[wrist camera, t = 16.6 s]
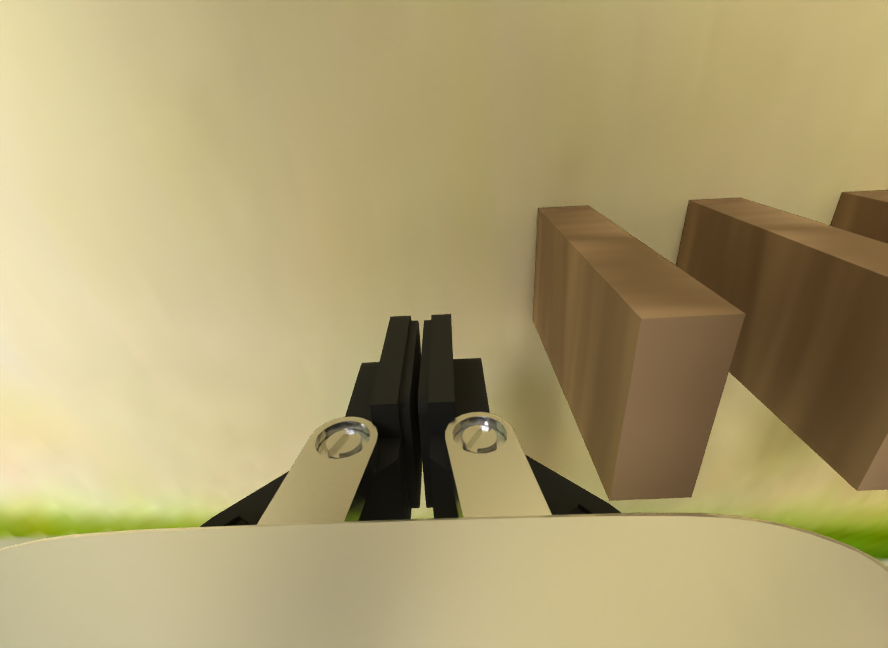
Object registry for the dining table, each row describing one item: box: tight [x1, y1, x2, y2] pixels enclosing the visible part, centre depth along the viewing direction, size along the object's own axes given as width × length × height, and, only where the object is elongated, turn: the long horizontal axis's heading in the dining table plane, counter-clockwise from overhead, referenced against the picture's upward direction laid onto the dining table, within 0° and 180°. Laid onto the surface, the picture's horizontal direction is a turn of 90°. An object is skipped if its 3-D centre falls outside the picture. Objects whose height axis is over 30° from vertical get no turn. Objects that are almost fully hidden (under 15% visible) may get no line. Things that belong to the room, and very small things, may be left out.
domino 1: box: [533, 206, 745, 500], centre depth 14 cm, size 2×5×10 cm, turn 3°
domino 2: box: [676, 198, 888, 491], centre depth 14 cm, size 2×5×10 cm, turn 3°
